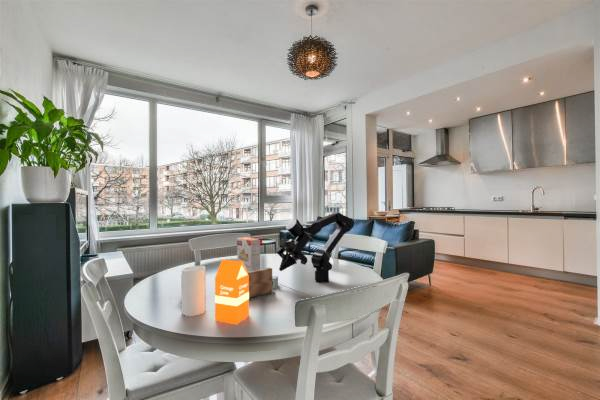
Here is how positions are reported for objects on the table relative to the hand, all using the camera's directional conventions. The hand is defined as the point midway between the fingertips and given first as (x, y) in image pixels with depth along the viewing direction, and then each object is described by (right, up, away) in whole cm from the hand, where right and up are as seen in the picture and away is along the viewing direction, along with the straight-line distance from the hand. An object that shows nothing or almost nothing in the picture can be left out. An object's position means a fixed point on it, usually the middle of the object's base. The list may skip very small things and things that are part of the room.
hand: (280, 270), depth 127 cm
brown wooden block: (-8, -8, -7) cm, 14 cm away
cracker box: (-18, -10, +22) cm, 30 cm away
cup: (-30, -10, -23) cm, 39 cm away
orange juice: (-15, -10, -29) cm, 34 cm away
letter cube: (-4, -9, +7) cm, 13 cm away
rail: (-12, -9, -9) cm, 17 cm away
